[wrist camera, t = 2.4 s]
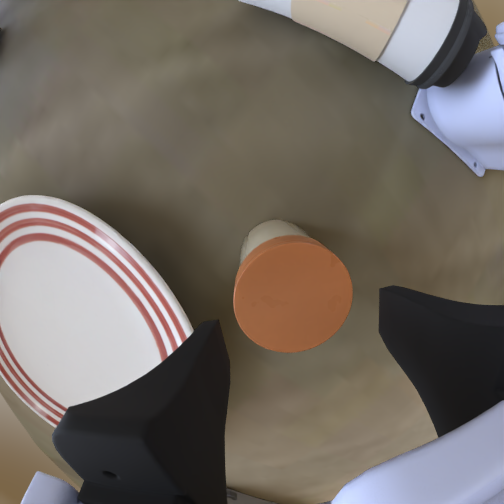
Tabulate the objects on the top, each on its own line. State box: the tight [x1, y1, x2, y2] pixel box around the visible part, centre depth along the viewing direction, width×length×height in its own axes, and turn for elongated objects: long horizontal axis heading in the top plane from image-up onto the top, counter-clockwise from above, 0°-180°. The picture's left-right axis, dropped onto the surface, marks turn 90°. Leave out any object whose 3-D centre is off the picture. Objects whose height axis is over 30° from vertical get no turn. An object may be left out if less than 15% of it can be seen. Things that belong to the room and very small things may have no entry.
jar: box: [240, 220, 311, 266], centre depth 17 cm, size 5×5×7 cm
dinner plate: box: [0, 195, 194, 428], centre depth 21 cm, size 27×27×3 cm
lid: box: [233, 235, 353, 353], centre depth 14 cm, size 6×6×2 cm
